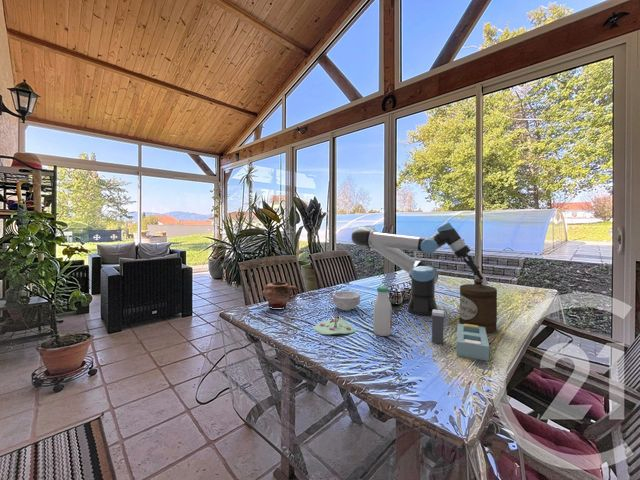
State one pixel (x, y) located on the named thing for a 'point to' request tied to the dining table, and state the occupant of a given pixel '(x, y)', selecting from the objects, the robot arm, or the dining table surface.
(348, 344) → the dining table surface
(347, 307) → the paper bowls
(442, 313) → the plug
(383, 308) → the milk bottle
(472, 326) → the socket block
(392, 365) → the dining table surface
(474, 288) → the wooden container
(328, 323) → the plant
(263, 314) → the dining table surface
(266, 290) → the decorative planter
